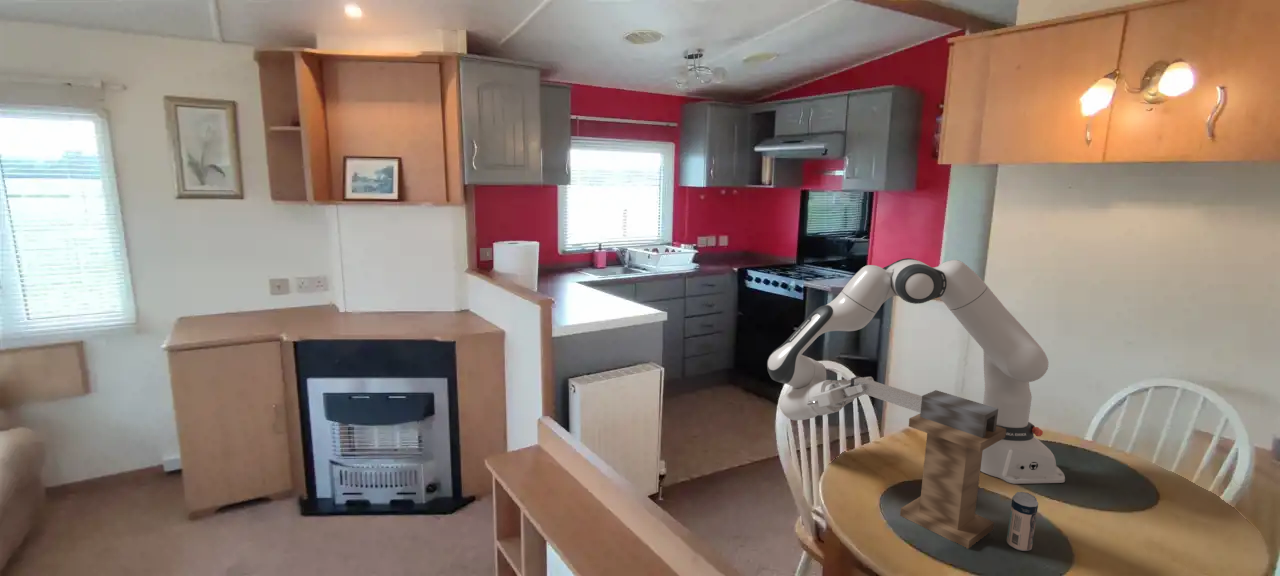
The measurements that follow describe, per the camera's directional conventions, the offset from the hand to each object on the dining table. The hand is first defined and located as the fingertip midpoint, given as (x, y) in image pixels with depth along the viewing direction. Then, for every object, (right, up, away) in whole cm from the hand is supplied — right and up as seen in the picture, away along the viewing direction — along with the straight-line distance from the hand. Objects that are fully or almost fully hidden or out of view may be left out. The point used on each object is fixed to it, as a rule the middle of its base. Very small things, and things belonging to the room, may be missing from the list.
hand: (868, 385), depth 154 cm
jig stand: (+13, -30, -13) cm, 36 cm away
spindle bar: (+4, -3, -5) cm, 7 cm away
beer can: (+25, -32, -21) cm, 46 cm away
